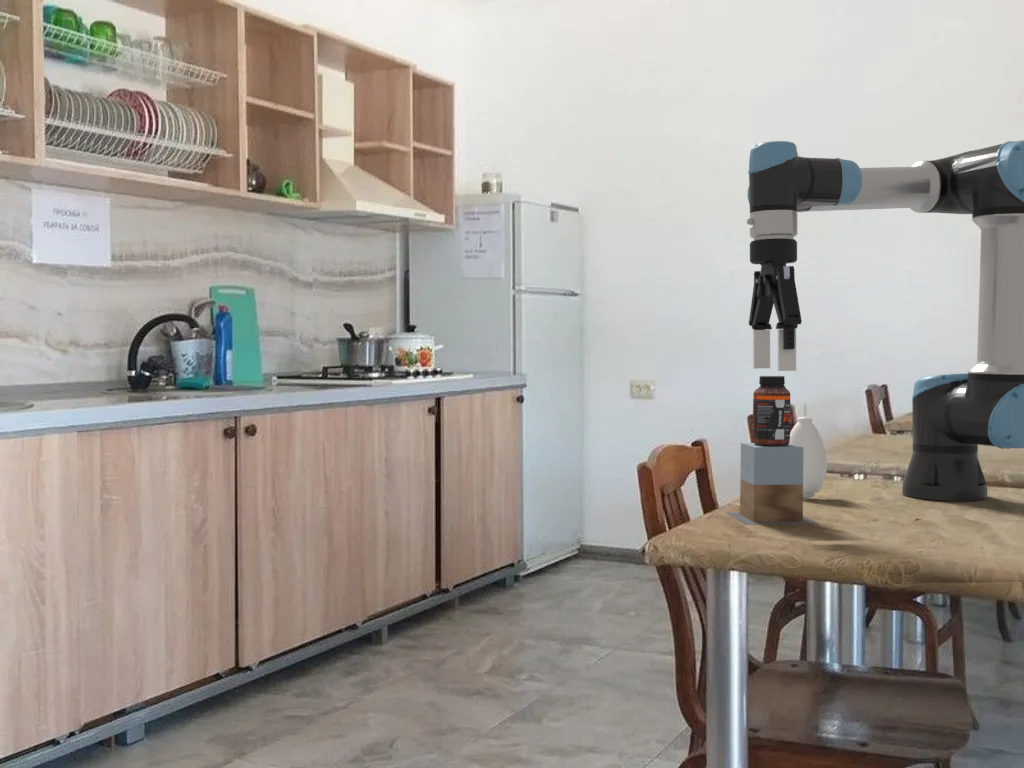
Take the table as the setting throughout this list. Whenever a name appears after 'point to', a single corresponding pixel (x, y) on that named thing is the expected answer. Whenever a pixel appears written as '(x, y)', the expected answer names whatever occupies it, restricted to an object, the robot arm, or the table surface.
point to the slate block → (771, 464)
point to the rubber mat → (749, 522)
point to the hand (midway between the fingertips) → (773, 369)
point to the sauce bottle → (810, 455)
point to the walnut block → (771, 502)
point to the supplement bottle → (771, 412)
